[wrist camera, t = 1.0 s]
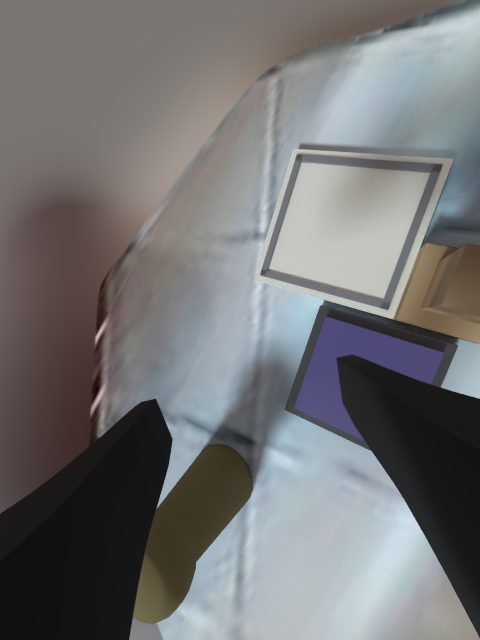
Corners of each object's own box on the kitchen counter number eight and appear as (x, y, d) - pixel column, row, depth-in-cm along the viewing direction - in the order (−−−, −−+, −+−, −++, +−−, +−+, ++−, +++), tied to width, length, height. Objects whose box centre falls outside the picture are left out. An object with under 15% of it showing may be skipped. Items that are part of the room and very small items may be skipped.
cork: (209, 431, 25) (112, 508, 15) (263, 471, 22) (193, 594, 12) (187, 481, 26) (82, 585, 16) (236, 523, 23) (151, 677, 13)
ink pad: (453, 344, 17) (461, 346, 16) (404, 461, 18) (408, 472, 17) (321, 305, 21) (319, 304, 19) (286, 406, 22) (282, 412, 20)
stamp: (504, 269, 16) (595, 239, 10) (473, 342, 17) (542, 354, 11) (416, 252, 18) (449, 219, 12) (391, 319, 19) (410, 318, 13)
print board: (449, 165, 17) (455, 156, 16) (391, 319, 19) (393, 319, 18) (295, 154, 21) (292, 147, 20) (256, 280, 23) (252, 279, 22)
